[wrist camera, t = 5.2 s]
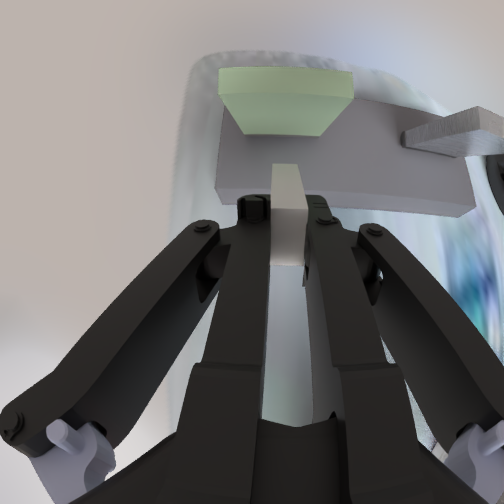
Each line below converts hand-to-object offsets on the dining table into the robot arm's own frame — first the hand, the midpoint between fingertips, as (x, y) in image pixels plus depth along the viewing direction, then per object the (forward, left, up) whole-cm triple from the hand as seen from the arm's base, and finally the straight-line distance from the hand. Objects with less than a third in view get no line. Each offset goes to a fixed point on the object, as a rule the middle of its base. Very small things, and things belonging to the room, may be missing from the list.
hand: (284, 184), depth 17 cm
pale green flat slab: (-7, -6, -6) cm, 11 cm away
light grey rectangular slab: (-17, +6, -6) cm, 19 cm away
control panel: (-12, 0, -11) cm, 16 cm away
